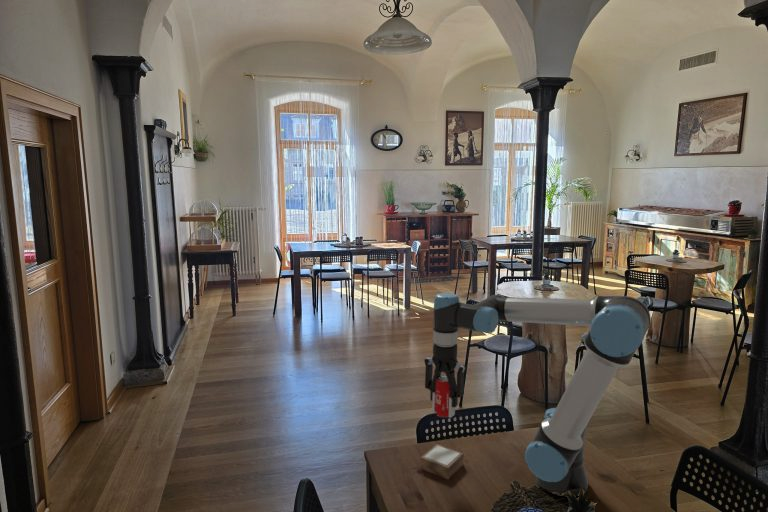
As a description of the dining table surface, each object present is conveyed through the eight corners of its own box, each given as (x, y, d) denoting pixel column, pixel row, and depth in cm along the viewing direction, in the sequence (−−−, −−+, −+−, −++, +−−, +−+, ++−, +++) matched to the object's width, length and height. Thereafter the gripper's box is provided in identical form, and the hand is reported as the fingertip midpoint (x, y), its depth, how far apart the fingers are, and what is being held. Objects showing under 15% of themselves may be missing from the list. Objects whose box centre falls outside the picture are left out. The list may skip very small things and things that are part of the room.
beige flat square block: (463, 464, 167) (463, 453, 166) (448, 479, 159) (448, 467, 158) (436, 454, 173) (436, 443, 172) (420, 468, 165) (420, 456, 164)
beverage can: (451, 418, 159) (452, 382, 157) (434, 417, 160) (435, 380, 158) (452, 410, 164) (453, 375, 162) (435, 409, 165) (436, 374, 163)
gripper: (477, 345, 156) (474, 416, 160) (426, 334, 166) (424, 401, 170) (466, 352, 150) (464, 426, 154) (413, 340, 160) (412, 409, 164)
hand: (443, 413), depth 162 cm, fingers closed on beverage can, 5 cm apart
